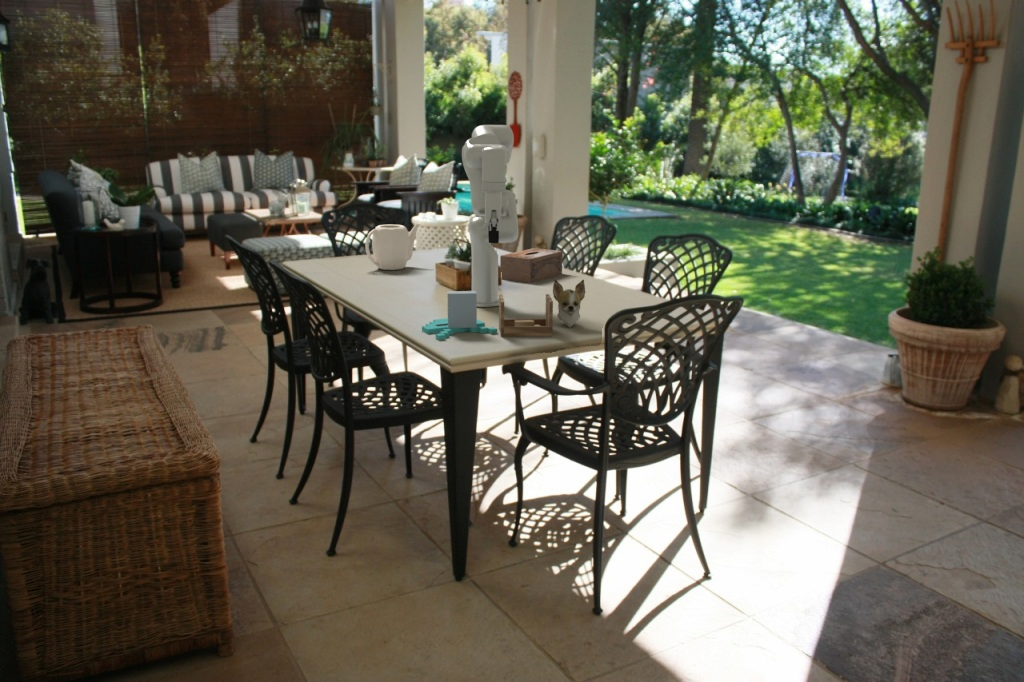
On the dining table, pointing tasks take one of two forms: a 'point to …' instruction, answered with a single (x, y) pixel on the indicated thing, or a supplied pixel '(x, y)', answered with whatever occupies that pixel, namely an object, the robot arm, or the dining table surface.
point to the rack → (508, 324)
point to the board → (462, 309)
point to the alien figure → (444, 331)
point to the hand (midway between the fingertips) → (493, 240)
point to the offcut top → (523, 323)
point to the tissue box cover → (531, 265)
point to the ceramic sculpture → (569, 302)
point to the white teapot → (391, 246)
